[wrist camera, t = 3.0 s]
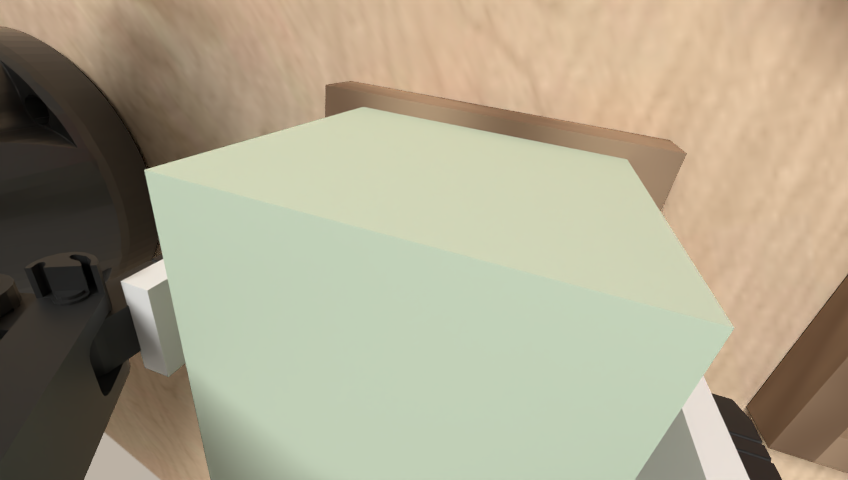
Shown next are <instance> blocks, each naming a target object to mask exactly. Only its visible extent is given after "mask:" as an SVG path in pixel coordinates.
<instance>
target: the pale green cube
mask: <svg viewBox="0 0 848 480" xmlns="http://www.w3.org/2000/svg"><path fill="white" fill-rule="evenodd" d="M144 171H145V176H146V180H147V185H148V190H149V194H150V199H151V204H152V208H153V213H154V218H155V222H156V227H157V232H158V236H159V241H160V246H161V250H162V255H163V260H164V264H165V269H166V274H167V278H168V283H169V288H170V293H171V297H172V302H173V307H174V311H175V316H176V321H177V325H178V330H179V335H180V339H181V344H182V349H183V353H184V358H185V363H186V367H187V372H188V377H189V381H190V386H191V391H192V395H193V400H194V405H195V409H196V414H197V419H198V423H199V428H200V433H201V438H202V442H203V447H204V452H205V456H206V461H207V466H208V470H209V475H210V480H635V479H636V477H637V476H638V474H639V473H640V471H641V470H642V468H643V467H644V465H645V463H646V462H647V460H648V459H649V457H650V456H651V454H652V453H653V451H654V450H655V448H656V447H657V445H658V444H659V442H660V441H661V439H662V438H663V436H664V435H665V433H666V431H667V430H668V428H669V427H670V425H671V424H672V422H673V421H674V419H675V418H676V416H677V415H678V413H679V412H680V410H681V409H682V407H683V406H684V404H685V403H686V401H687V399H688V398H689V396H690V395H691V393H692V392H693V390H694V389H695V387H696V386H697V384H698V383H699V381H700V380H701V378H702V377H703V375H704V374H705V372H706V371H707V369H708V367H709V366H710V364H711V363H712V361H713V360H714V358H715V357H716V355H717V354H718V352H719V351H720V349H721V348H722V346H723V345H724V343H725V342H726V340H727V339H728V337H729V335H730V334H731V332H732V331H733V329H734V327H733V325H732V323H731V322H730V320H729V319H728V317H727V316H726V314H725V312H724V311H723V309H722V308H721V306H720V305H719V303H718V301H717V300H716V298H715V297H714V295H713V294H712V292H711V290H710V289H709V287H708V286H707V284H706V283H705V281H704V279H703V278H702V276H701V275H700V273H699V271H698V270H697V268H696V267H695V265H694V264H693V262H692V260H691V259H690V257H689V256H688V254H687V253H686V251H685V249H684V248H683V246H682V245H681V243H680V242H679V240H678V238H677V237H676V235H675V234H674V232H673V231H672V229H671V227H670V226H669V224H668V223H667V221H666V220H665V218H664V216H663V215H662V213H661V212H660V210H659V208H658V207H657V205H656V204H655V202H654V201H653V199H652V197H651V196H650V194H649V193H648V191H647V190H646V188H645V186H644V185H643V183H642V182H641V180H640V179H639V177H638V175H637V174H636V172H635V171H634V169H633V168H632V166H631V164H630V163H629V161H628V160H627V159H623V158H618V157H613V156H608V155H603V154H598V153H593V152H588V151H583V150H578V149H573V148H568V147H563V146H558V145H553V144H548V143H543V142H538V141H533V140H527V139H522V138H517V137H512V136H507V135H502V134H497V133H492V132H487V131H482V130H477V129H472V128H467V127H462V126H457V125H452V124H447V123H442V122H437V121H432V120H427V119H422V118H417V117H412V116H407V115H402V114H397V113H392V112H387V111H382V110H377V109H372V108H367V107H361V108H357V109H354V110H350V111H347V112H343V113H340V114H336V115H333V116H329V117H326V118H322V119H319V120H315V121H312V122H308V123H305V124H301V125H298V126H295V127H291V128H288V129H284V130H281V131H277V132H274V133H270V134H267V135H263V136H260V137H256V138H253V139H249V140H246V141H242V142H239V143H235V144H232V145H229V146H225V147H222V148H218V149H215V150H211V151H208V152H204V153H201V154H197V155H194V156H190V157H187V158H183V159H180V160H176V161H173V162H169V163H166V164H162V165H159V166H156V167H152V168H149V169H145V170H144Z"/></svg>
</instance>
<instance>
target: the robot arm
mask: <svg viewBox="0 0 848 480" xmlns="http://www.w3.org/2000/svg"><path fill="white" fill-rule="evenodd" d="M145 169H146V166H145V164H144V161H143V159H142V157H141V155H140V153H139V151H138V148H137V147H136V145H135V143H134V141H133V139H132V137H131V135H130V134H129V132H128V130H127V129H126V127H125V125H124V124H123V122H122V121H121V119H120V118H119V116H118V115H117V113H116V112H115V110H114V109H113V108H112V106H111V105H110V104H109V102H108V101H107V100H106V98H105V97H104V96H103V95H102V94H101V92H100V91H99V90H98V89H97V88H96V87H95V85H94V84H93V83H92V82H91V81H90V80H89V79H88V78H87V77H86V76H85V75H84V74H83V73H82V72H81V71H80V70H79V69H78V68H77V67H76V66H74V65H73V64H72V63H71V62H70V61H69V60H68V59H66V58H65V57H64V56H63V55H61V54H60V53H59V52H57V51H56V50H54V49H53V48H52V47H50V46H48V45H47V44H45V43H44V42H42V41H40V40H38V39H36V38H35V37H33V36H30V35H28V34H26V33H24V32H21V31H18V30H15V29H11V28H7V27H0V480H84V478H85V475H86V473H87V471H88V469H89V466H90V464H91V461H92V459H93V456H94V454H95V452H96V449H97V447H98V445H99V443H100V440H101V438H102V435H103V433H104V431H105V428H106V426H107V424H108V421H109V419H110V417H111V414H112V412H113V410H114V407H115V405H116V403H117V400H118V398H119V395H120V393H121V391H122V388H123V386H124V384H125V381H126V379H127V377H128V374H129V372H130V363H129V358H131V357H132V356H133V355H135V354H136V353H138V352H139V351H140V352H141V356H142V359H143V363H144V366H145V368H147V369H150V370H152V371H155V372H157V373H160V374H162V375H165V376H167V377H169V376H170V375H172V374H173V373H174V372H175V371H176V370H178V369H179V368H180V367H181V366H182V365H184V364H185V358H184V353H183V349H182V344H181V339H180V335H179V330H178V325H177V321H176V316H175V311H174V307H173V302H172V297H171V293H170V288H169V283H168V278H167V274H166V269H165V264H164V260H163V255H162V254H161V255H159V256H157V257H155V258H153V255H154V253H155V250H156V247H157V242H158V232H157V227H156V222H155V218H154V213H153V208H152V204H151V199H150V194H149V190H148V185H147V180H146V176H145V171H144V170H145ZM152 258H153V259H152ZM151 260H152V261H151ZM635 480H782V479H781V477H780V475H779V473H778V471H777V469H776V467H775V465H774V464H773V463H771V457H770V456H769V454H768V452H767V450H766V448H765V446H764V445H762V440H761V438H760V436H759V434H758V433H757V431H756V429H755V427H754V425H753V423H752V421H751V420H750V419H749V417H748V416H747V415H746V414H745V413H744V412H743V411H742V410H741V409H740V408H739V406H738V405H737V404H736V403H735V402H734V401H733V400H732V399H729V398H725V397H722V396H719V395H715V394H712V393H711V391H710V389H709V387H708V385H707V382H706V380H705V378H704V376H703V377H702V378H701V380H700V381H699V383H698V384H697V386H696V387H695V389H694V390H693V392H692V393H691V395H690V396H689V398H688V399H687V401H686V403H685V404H684V406H683V407H682V409H681V410H680V412H679V413H678V415H677V416H676V418H675V419H674V421H673V422H672V424H671V425H670V427H669V428H668V430H667V431H666V433H665V435H664V436H663V438H662V439H661V441H660V442H659V444H658V445H657V447H656V448H655V450H654V451H653V453H652V454H651V456H650V457H649V459H648V460H647V462H646V463H645V465H644V467H643V468H642V470H641V471H640V473H639V474H638V476H637V477H636V479H635Z"/></svg>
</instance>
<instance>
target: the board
mask: <svg viewBox="0 0 848 480" xmlns="http://www.w3.org/2000/svg"><path fill="white" fill-rule="evenodd" d="M361 107H367V108H372V109H377V110H382V111H387V112H392V113H397V114H402V115H407V116H412V117H417V118H422V119H427V120H432V121H437V122H442V123H447V124H452V125H457V126H462V127H467V128H472V129H477V130H482V131H487V132H492V133H497V134H502V135H507V136H512V137H517V138H522V139H527V140H533V141H538V142H543V143H548V144H553V145H558V146H563V147H568V148H573V149H578V150H583V151H588V152H593V153H598V154H603V155H608V156H613V157H618V158H623V159H627V160H628V161H629V163H630V164H631V166H632V168H633V169H634V171H635V172H636V174H637V175H638V177H639V179H640V180H641V182H642V183H643V185H644V186H645V188H646V190H647V191H648V193H649V194H650V196H651V197H652V199H653V201H654V202H655V204H656V205H657V207H658V208H659V210H660V211H661V209H662V206H663V204H664V202H665V200H666V198H667V196H668V193H669V191H670V189H671V187H672V185H673V182H674V180H675V178H676V176H677V174H678V171H679V169H680V167H681V165H682V163H683V161H684V158H685V156H686V154H687V153H685V152H684V151H683V150H682V149H680V148H679V147H678V146H677V145H675V144H674V143H673V142H672V141H670V140H666V139H660V138H655V137H650V136H644V135H639V134H633V133H628V132H623V131H617V130H612V129H606V128H601V127H596V126H590V125H585V124H579V123H574V122H569V121H563V120H558V119H552V118H547V117H542V116H536V115H531V114H526V113H520V112H515V111H509V110H504V109H499V108H493V107H488V106H482V105H477V104H472V103H466V102H461V101H455V100H450V99H445V98H439V97H434V96H428V95H423V94H418V93H412V92H407V91H402V90H396V89H391V88H385V87H380V86H375V85H369V84H364V83H358V82H353V81H349V82H342V83H335V84H328V85H326V103H325V118H326V117H329V116H333V115H336V114H340V113H343V112H347V111H350V110H354V109H357V108H361Z"/></svg>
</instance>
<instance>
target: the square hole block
mask: <svg viewBox="0 0 848 480" xmlns="http://www.w3.org/2000/svg"><path fill="white" fill-rule="evenodd" d="M747 408H748V410H749V412H750V414H751V416H752V418H753V420H754V422H755V423H756V425H757V427H758V429H759V431H760V433H761V435H762V437H763V439H764V440H765V442H766V444H767V446H768V448H770V449H774V450H777V451H780V452H783V453H786V454H789V455H792V456H795V457H799V458H802V459H805V460H808V461H811V462H814V463H817V464H821V465H824V466H827V467H830V468H833V469H836V470H839V471H842V472H846V473H848V276H847V277H846V278H845V280H844V281H843V282H842V284H841V285H840V286H839V288H838V289H837V290H836V291H835V293H834V294H833V295H832V297H831V298H830V299H829V300H828V302H827V303H826V304H825V306H824V307H823V308H822V310H821V311H820V312H819V313H818V315H817V316H816V317H815V319H814V320H813V321H812V323H811V324H810V325H809V326H808V328H807V329H806V330H805V332H804V333H803V334H802V336H801V337H800V338H799V339H798V341H797V342H796V343H795V345H794V346H793V347H792V349H791V350H790V351H789V352H788V354H787V355H786V356H785V358H784V359H783V360H782V362H781V363H780V364H779V365H778V367H777V368H776V369H775V371H774V372H773V373H772V374H771V376H770V377H769V378H768V380H767V381H766V382H765V384H764V385H763V386H762V387H761V389H760V390H759V391H758V393H757V394H756V395H755V397H754V398H753V399H752V400H751V402H750V403H749V404H748V406H747Z"/></svg>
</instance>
